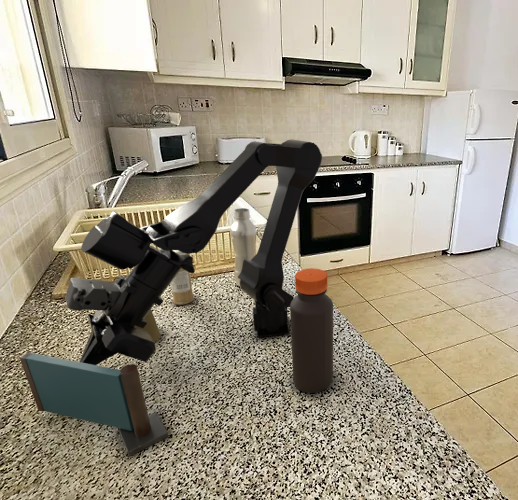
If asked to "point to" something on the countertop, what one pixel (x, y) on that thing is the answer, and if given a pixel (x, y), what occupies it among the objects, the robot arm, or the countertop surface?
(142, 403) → the hinge post
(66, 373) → the door
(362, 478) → the countertop surface
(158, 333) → the olive brown knobbed cone
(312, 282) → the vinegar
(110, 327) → the robot arm
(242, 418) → the countertop surface
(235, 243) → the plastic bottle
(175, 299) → the sprinkles bottle
